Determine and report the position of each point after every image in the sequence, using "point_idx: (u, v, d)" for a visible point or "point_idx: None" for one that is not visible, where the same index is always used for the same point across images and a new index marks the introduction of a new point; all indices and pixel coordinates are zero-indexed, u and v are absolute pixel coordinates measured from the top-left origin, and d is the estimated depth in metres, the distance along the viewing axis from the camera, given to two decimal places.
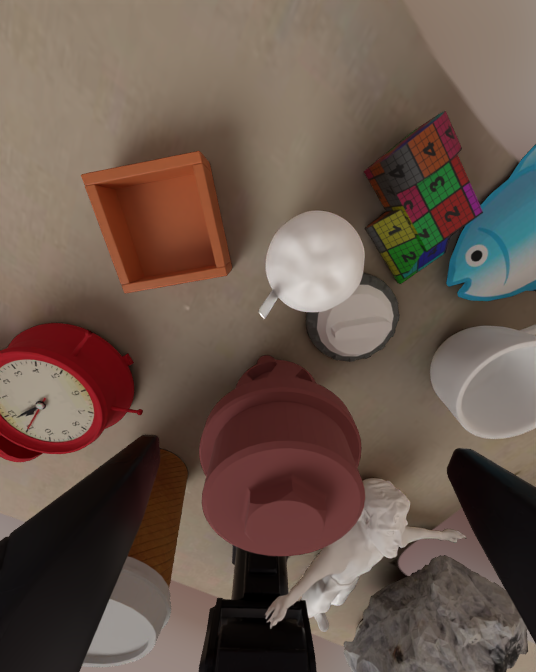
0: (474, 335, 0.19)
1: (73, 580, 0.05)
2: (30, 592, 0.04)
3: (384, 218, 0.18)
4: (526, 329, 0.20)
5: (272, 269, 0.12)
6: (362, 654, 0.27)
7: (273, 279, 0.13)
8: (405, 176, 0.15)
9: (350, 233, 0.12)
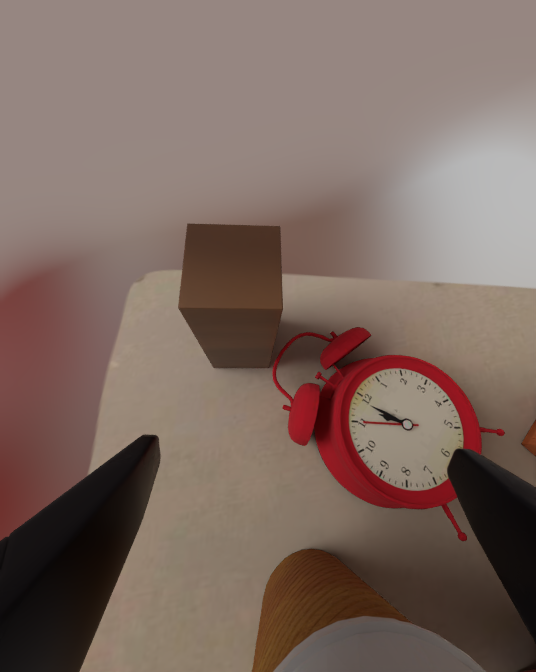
0: None
1: (73, 580, 0.05)
2: (30, 592, 0.04)
3: None
4: None
5: None
6: None
7: None
8: None
9: None
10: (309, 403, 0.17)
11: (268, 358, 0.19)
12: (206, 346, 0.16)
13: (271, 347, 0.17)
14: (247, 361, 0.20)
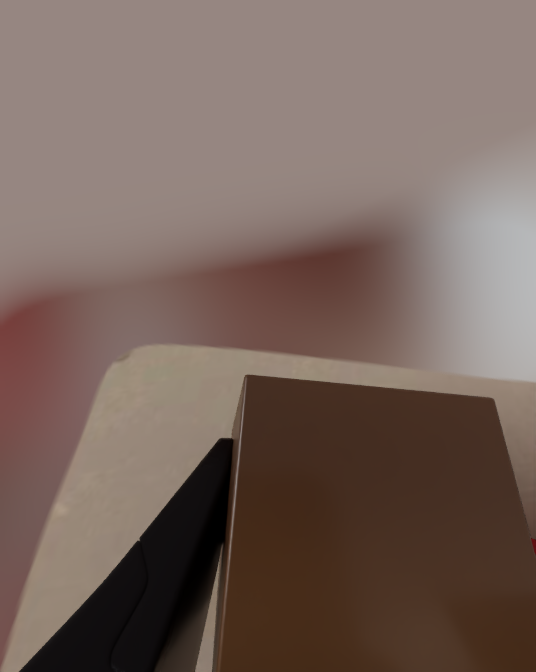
0: None
1: (198, 583, 0.05)
2: (181, 596, 0.04)
3: None
4: None
5: None
6: None
7: None
8: None
9: None
10: None
11: None
12: None
13: None
14: None
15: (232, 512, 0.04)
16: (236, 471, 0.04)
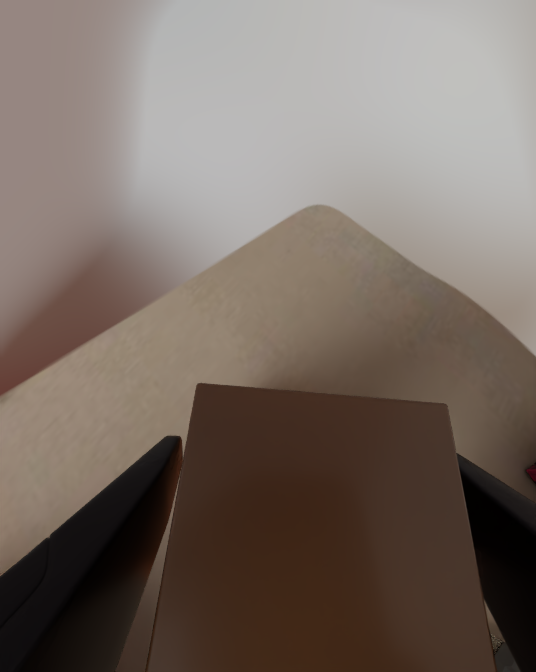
0: None
1: (111, 581, 0.05)
2: (77, 593, 0.04)
3: None
4: None
5: None
6: None
7: None
8: None
9: None
10: None
11: None
12: None
13: None
14: None
15: (174, 510, 0.04)
16: (181, 473, 0.04)
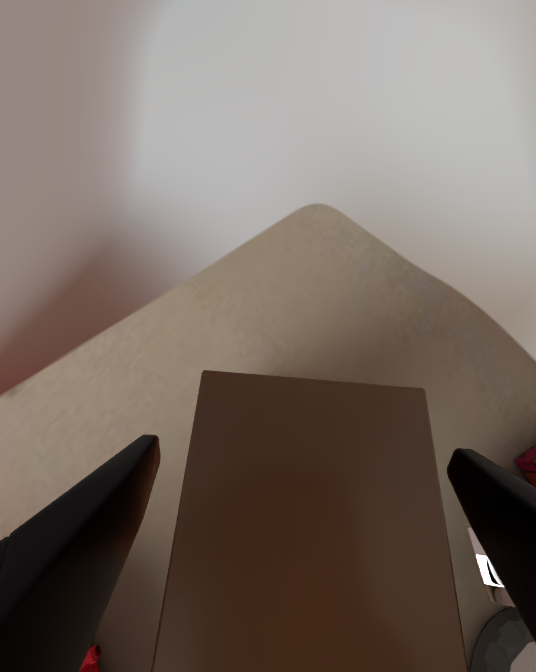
0: None
1: (73, 580, 0.05)
2: (30, 592, 0.04)
3: None
4: None
5: None
6: None
7: None
8: None
9: None
10: None
11: None
12: None
13: None
14: None
15: (184, 478, 0.05)
16: (189, 447, 0.05)
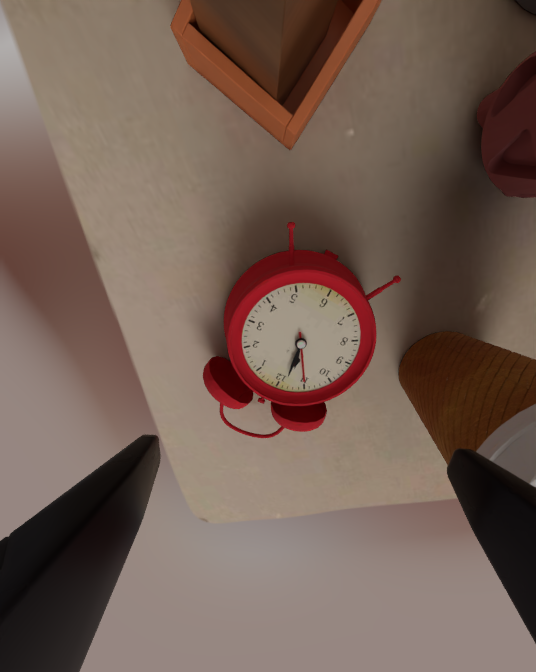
0: None
1: (73, 580, 0.05)
2: (30, 592, 0.04)
3: None
4: None
5: None
6: None
7: None
8: None
9: None
10: (295, 428, 0.19)
11: None
12: (285, 52, 0.10)
13: None
14: (313, 42, 0.13)
15: None
16: None
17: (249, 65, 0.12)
